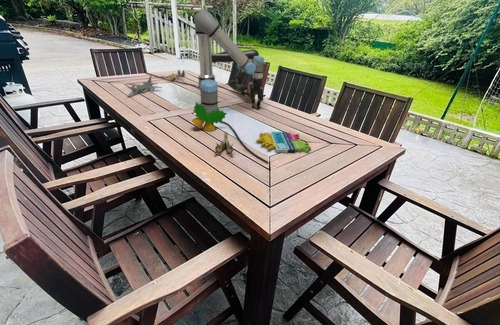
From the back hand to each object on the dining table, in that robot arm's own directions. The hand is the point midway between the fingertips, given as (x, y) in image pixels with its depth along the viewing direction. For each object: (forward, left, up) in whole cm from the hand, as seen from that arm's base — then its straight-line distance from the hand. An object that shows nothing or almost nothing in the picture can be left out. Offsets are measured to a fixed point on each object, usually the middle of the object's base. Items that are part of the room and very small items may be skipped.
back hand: (251, 94), depth 217 cm
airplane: (-85, -46, -7) cm, 96 cm away
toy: (-108, +9, -7) cm, 109 cm away
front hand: (+12, -10, -7) cm, 17 cm away
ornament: (+16, -66, -7) cm, 69 cm away
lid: (+12, -9, -3) cm, 15 cm away
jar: (-2, +1, -7) cm, 7 cm away
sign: (+61, -52, -7) cm, 81 cm away
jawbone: (+44, -83, -7) cm, 94 cm away
